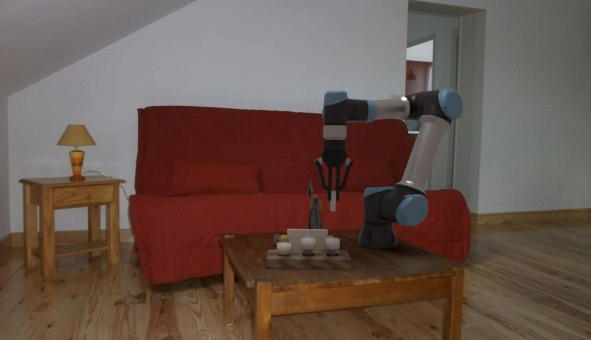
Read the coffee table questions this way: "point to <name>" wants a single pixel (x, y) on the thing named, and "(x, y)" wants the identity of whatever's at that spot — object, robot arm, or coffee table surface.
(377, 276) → the coffee table surface
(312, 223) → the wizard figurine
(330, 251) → the button
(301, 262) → the board
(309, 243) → the button
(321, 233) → the card
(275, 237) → the stone
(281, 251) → the button
